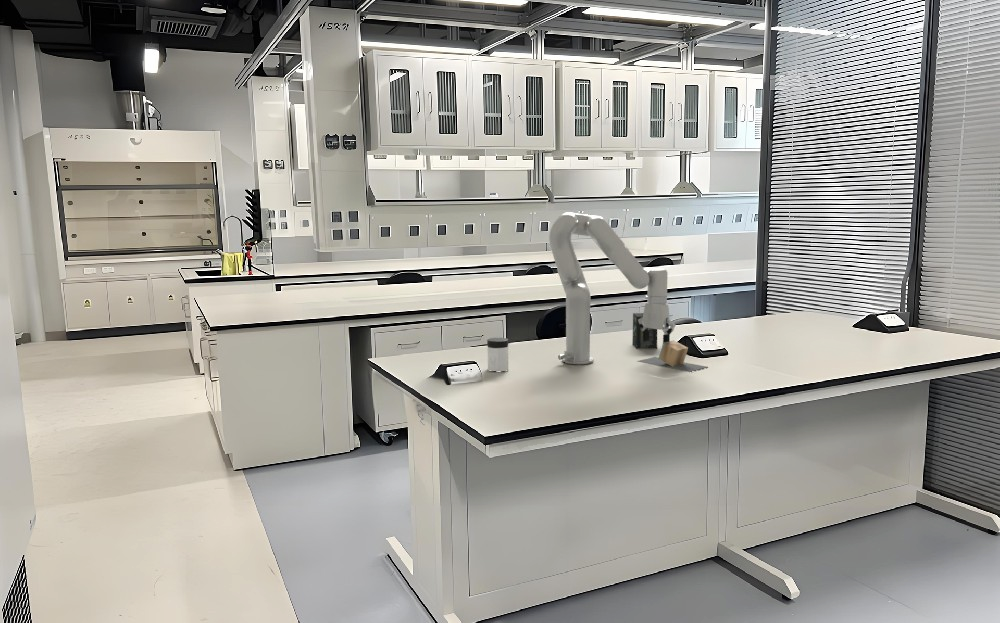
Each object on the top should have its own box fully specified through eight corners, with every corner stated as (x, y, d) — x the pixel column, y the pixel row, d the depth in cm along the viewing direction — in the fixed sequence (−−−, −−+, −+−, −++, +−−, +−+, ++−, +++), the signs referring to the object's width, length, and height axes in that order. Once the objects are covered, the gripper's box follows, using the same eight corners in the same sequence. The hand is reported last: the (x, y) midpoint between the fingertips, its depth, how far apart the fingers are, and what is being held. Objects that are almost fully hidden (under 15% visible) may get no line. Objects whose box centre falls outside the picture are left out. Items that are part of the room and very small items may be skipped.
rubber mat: (689, 372, 261) (689, 371, 260) (636, 362, 279) (636, 361, 279) (707, 367, 268) (707, 366, 268) (654, 357, 287) (654, 356, 287)
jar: (482, 371, 268) (482, 340, 266) (493, 366, 275) (492, 336, 273) (503, 373, 263) (502, 342, 262) (513, 369, 270) (512, 338, 269)
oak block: (658, 358, 274) (672, 366, 269) (663, 342, 271) (677, 350, 267) (669, 356, 278) (683, 363, 274) (673, 340, 276) (688, 347, 271)
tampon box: (657, 349, 304) (658, 316, 302) (636, 349, 304) (636, 316, 302) (652, 344, 315) (653, 312, 313) (632, 344, 315) (632, 312, 313)
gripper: (633, 298, 280) (632, 340, 282) (669, 303, 267) (668, 346, 269) (645, 297, 285) (644, 338, 287) (681, 301, 272) (679, 344, 274)
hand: (655, 342), depth 278 cm, fingers open, 9 cm apart
